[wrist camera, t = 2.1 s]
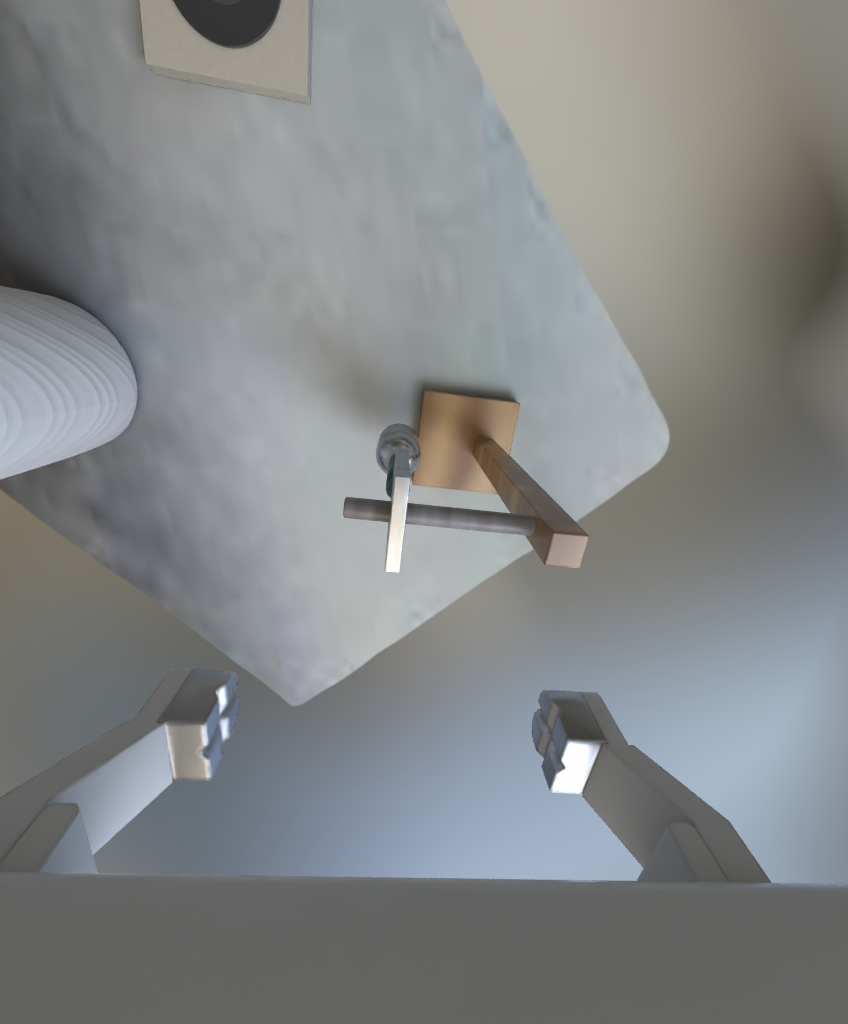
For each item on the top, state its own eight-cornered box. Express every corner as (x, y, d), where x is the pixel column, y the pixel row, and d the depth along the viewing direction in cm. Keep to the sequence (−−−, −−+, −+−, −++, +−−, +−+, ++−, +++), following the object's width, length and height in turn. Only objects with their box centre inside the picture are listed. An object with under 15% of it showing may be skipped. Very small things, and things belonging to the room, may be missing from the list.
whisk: (377, 464, 42) (355, 569, 22) (381, 409, 40) (362, 472, 20) (415, 468, 42) (427, 575, 23) (421, 414, 40) (441, 480, 21)
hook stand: (367, 476, 45) (332, 612, 22) (375, 383, 41) (342, 429, 18) (498, 490, 47) (594, 631, 23) (516, 401, 43) (652, 465, 20)
